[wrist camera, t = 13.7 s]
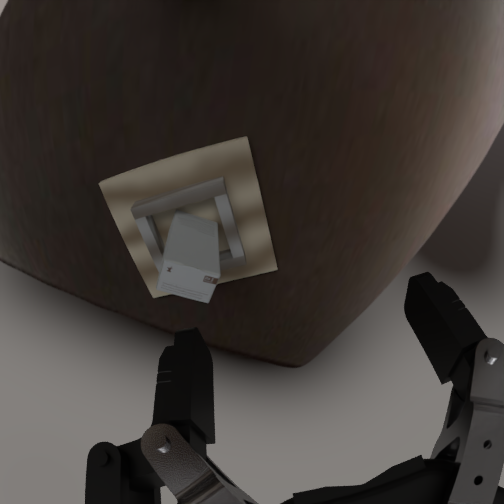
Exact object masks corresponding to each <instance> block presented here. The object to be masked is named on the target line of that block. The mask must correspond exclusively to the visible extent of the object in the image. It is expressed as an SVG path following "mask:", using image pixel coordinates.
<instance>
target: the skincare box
mask: <svg viewBox="0 0 504 504" xmlns="http://www.w3.org/2000/svg"><path fill="white" fill-rule="evenodd" d="M220 276H221V272H220V257H219V238H218V223H217V222H214V221H211V220H208V219H205V218H202V217H199V216H195V215H192V214H189V213H186V212H183V211H180V210H176V211H175V214H174V217H173V220H172V223H171V226H170V229H169V232H168V237H167V241H166V245H165V249H164V253H163V258H162V262H161V267H160V271H159V276H158V280H157V285H156V290H159V291H163V292H167V293H170V294H174V295H178V296H182V297H186V298H189V299H193V300H197V301H201V302H205V303H209V301H210V299H211V297H212V294H213V292H214V289H215V287H216V285H217V283H218V281H219V278H220Z"/></svg>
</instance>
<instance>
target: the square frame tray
mask: <svg viewBox="0 0 504 504" xmlns="http://www.w3.org/2000/svg"><path fill="white" fill-rule="evenodd" d="M99 186H100V188H101V190H102V193H103V195H104V198H105V200H106V202H107V204H108V207H109V209H110V211H111V214H112V216H113V218H114V220H115V222H116V225H117V227H118V229H119V231H120V233H121V235H122V237H123V240H124V242H125V244H126V246H127V248H128V250H129V252H130V254H131V256H132V258H133V260H134V262H135V264H136V266H137V268H138V270H139V272H140V274H141V276H142V278H143V279H144V281H145V283H146V285H147V287H148V289H149V291H150V293H151V294H152V296H153V298H156V297H161V296H165V295H170V293H167V292H163V291H159V290H156V285H157V280H158V276H159V271H160V267H161V262H162V258H163V253H164V249H165V245H166V241H167V237H168V232H169V229H170V226H171V223H172V220H173V217H174V214H175V211H176V210H180V211H183V212H186V213H189V214H192V215H195V216H199V217H202V218H205V219H208V220H211V221H214V222H217V223H218V238H219V257H220V272H221V276H220V278H219V281H218V283H217V284H219V283H223V282H228V281H232V280H236V279H241V278H245V277H249V276H254V275H258V274H262V273H266V272H270V271H275V270H278V269H277V264H276V260H275V255H274V251H273V246H272V242H271V237H270V233H269V228H268V224H267V219H266V215H265V211H264V206H263V202H262V198H261V193H260V189H259V185H258V180H257V176H256V172H255V168H254V163H253V159H252V155H251V151H250V147H249V142H248V138H247V136H245V137H241V138H237V139H233V140H229V141H225V142H221V143H217V144H214V145H210V146H206V147H203V148H199V149H195V150H192V151H189V152H185V153H182V154H178V155H175V156H172V157H169V158H166V159H162V160H159V161H156V162H153V163H150V164H147V165H144V166H141V167H138V168H136V169H133V170H130V171H127V172H124V173H122V174H119V175H116V176H114V177H111V178H108V179H106V180H103V181H101V182H100V183H99Z"/></svg>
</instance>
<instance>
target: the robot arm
mask: <svg viewBox="0 0 504 504" xmlns="http://www.w3.org/2000/svg"><path fill="white" fill-rule="evenodd" d="M404 311H405V315H406V318H407V320H408V322H409V324H410V325H411V327H412V329H413V331H414V333H415V334H416V336H417V338H418V340H419V342H420V343H421V345H422V347H423V348H424V351H425V353H426V354H427V356H428V358H429V360H430V362H431V364H432V365H433V368H434V370H435V372H436V374H437V376H438V378H439V380H440V382H441V384H444V383H447V382H449V381H452V383H453V388H452V391H451V396H450V401H449V405H448V409H447V413H446V417H445V421H444V425H443V429H442V432H441V434H440V436H439V438H438V440H437V442H436V444H435V447H434V449H433V452H432V455H431V458H430V459H423V458H422V455H420V456H417V457H415V458H412V459H410V460H408V461H405V462H403V463H400V464H398V465H395V466H393V467H391V468H389V469H388V470H386V471H385V472H383V473H381V474H380V475H378V476H377V477H375V478H373V479H372V480H370V481H368V482H367V483H365V484H362V485H355V486H335V487H334V486H333V487H323V488H319V489H314V490H309V491H304V492H299V493H293V498H291V499H289V500H286V501H284V502H283V503H281V504H504V488H502V487H500V486H498V483H499V480H500V475H501V472H502V468H503V463H504V344H503V343H501V342H500V341H499V340H497V339H494V338H488V337H487V336H486V335H485V334H484V332H483V330H482V329H481V328H480V326H479V325H478V323H477V322H476V320H475V319H474V317H473V316H472V315H471V313H470V312H469V310H468V309H467V308H465V305H464V304H463V303H462V301H461V300H459V297H458V296H457V294H456V293H455V292H454V290H453V289H452V288H451V287H449V286H448V285H446V284H445V283H443V282H439V283H438V282H437V281H436V280H435V278H434V277H433V276H432V275H431V274H430V273H429V272H425V273H422V274H419V275H416V276H412V277H410V279H409V283H408V288H407V293H406V299H405V304H404ZM213 391H214V390H213V362H212V357H211V354H210V351H209V349H208V347H207V345H206V343H205V341H204V339H203V337H202V335H201V334H200V332H199V330H198V328H197V327H194V328H188V329H183V330H177V331H176V333H175V340H174V346H167V347H166V348H165V349H164V351H163V353H162V355H161V357H160V358H159V366H158V374H157V384H156V392H155V401H154V413H153V421H152V425H151V427H150V428H149V429H147V430H146V431H145V433H144V434H143V436H142V438H140V439H138V440H135V441H132V442H129V443H126V444H123V445H120V446H115V445H113V444H112V443H109V442H100V443H97V444H96V445H94V446H93V447H92V448H91V450H90V452H89V454H88V459H87V471H86V489H85V504H161V493H160V487H162V486H167V487H168V488H169V490H170V491H171V492H172V493H173V495H174V496H175V497H176V499H177V501H178V503H177V504H258V503H257V502H256V501H254V500H253V499H252V498H251V497H250V496H249V495H247V494H246V493H245V492H244V491H242V490H241V489H240V488H239V487H238V486H237V485H236V484H234V482H233V481H231V480H230V479H229V478H228V477H227V476H226V475H225V474H224V473H223V472H222V471H221V470H220V469H219V467H218V466H216V464H215V463H214V462H213V461H212V460H211V459H210V458H209V457H208V456H207V454H206V444H214V443H215V423H214V392H213Z"/></svg>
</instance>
